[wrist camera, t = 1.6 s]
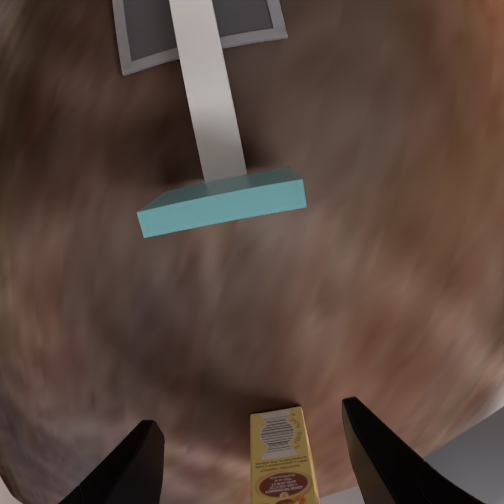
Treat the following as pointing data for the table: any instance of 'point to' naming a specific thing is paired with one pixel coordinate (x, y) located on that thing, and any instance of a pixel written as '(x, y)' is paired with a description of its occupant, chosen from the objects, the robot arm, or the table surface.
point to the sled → (215, 141)
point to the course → (163, 35)
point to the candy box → (281, 459)
